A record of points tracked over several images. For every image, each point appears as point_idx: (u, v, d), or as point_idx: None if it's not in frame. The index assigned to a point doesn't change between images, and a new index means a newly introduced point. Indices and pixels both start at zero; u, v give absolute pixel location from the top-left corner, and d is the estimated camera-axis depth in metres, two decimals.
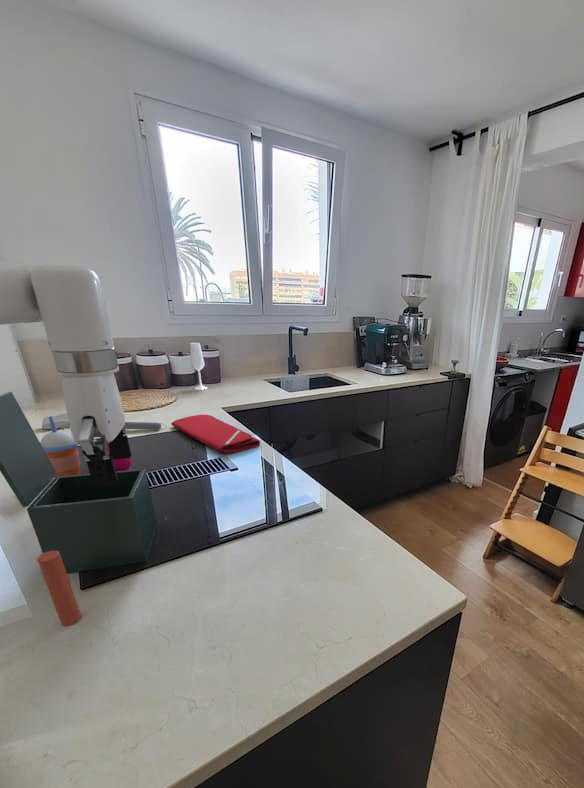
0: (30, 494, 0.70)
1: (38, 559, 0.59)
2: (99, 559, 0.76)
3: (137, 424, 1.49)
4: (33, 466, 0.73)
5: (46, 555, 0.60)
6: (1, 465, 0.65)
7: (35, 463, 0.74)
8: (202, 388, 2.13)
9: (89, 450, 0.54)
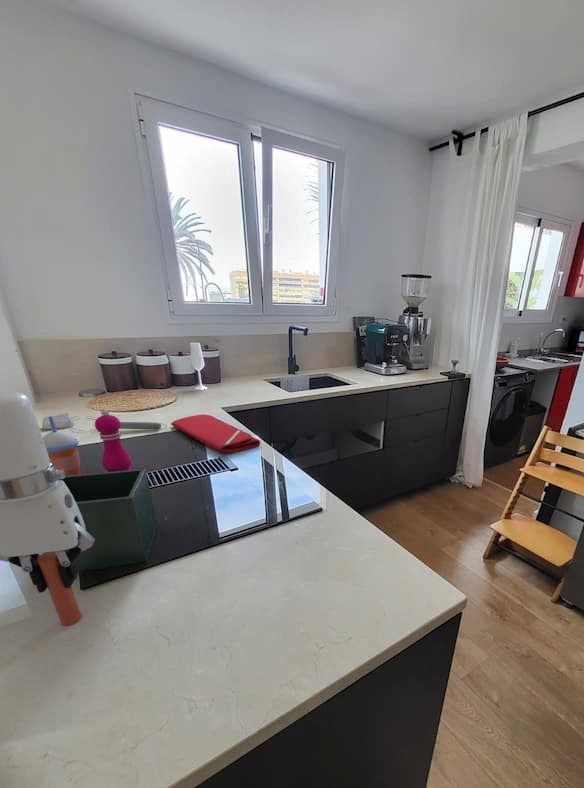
0: None
1: (38, 559, 0.59)
2: (99, 559, 0.76)
3: (137, 424, 1.49)
4: None
5: (46, 555, 0.60)
6: None
7: None
8: (202, 388, 2.13)
9: None
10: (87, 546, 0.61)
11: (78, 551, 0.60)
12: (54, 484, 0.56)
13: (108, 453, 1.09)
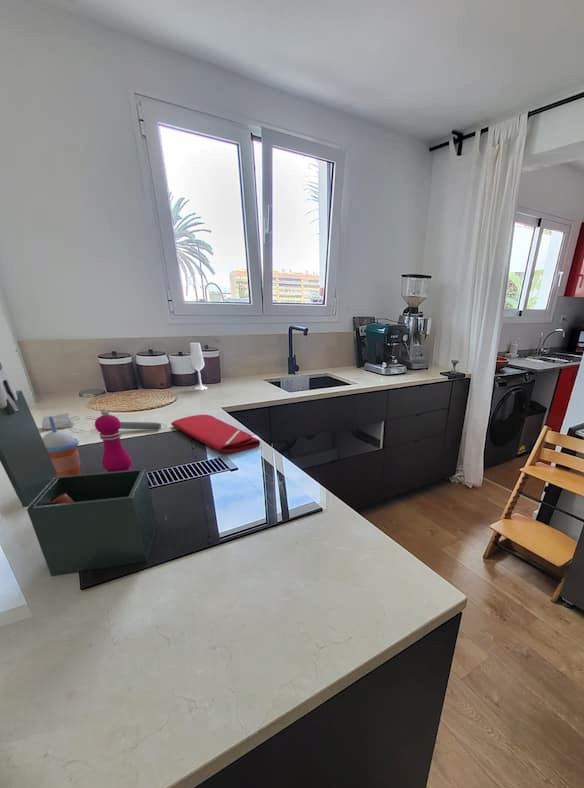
0: (31, 494, 0.70)
1: (52, 502, 0.76)
2: (99, 559, 0.76)
3: (137, 424, 1.49)
4: (35, 466, 0.73)
5: (57, 498, 0.76)
6: (6, 464, 0.65)
7: (38, 463, 0.74)
8: (202, 388, 2.13)
9: None
10: (9, 413, 0.68)
11: None
12: None
13: (108, 453, 1.09)
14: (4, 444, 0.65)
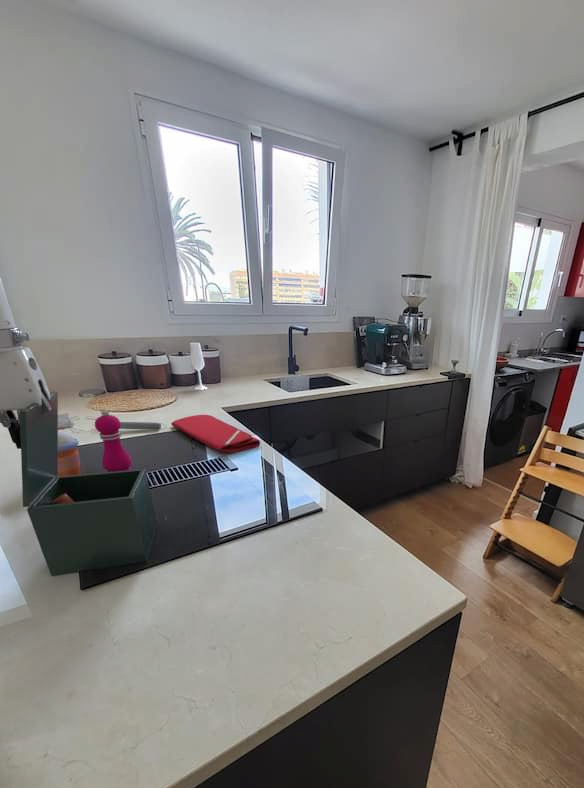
0: (34, 495, 0.70)
1: (52, 502, 0.76)
2: (99, 559, 0.76)
3: (137, 424, 1.49)
4: (45, 467, 0.74)
5: (57, 498, 0.76)
6: (26, 464, 0.66)
7: (47, 463, 0.75)
8: (202, 388, 2.13)
9: None
10: (43, 412, 0.69)
11: None
12: (19, 346, 0.65)
13: (108, 453, 1.09)
14: (30, 445, 0.66)
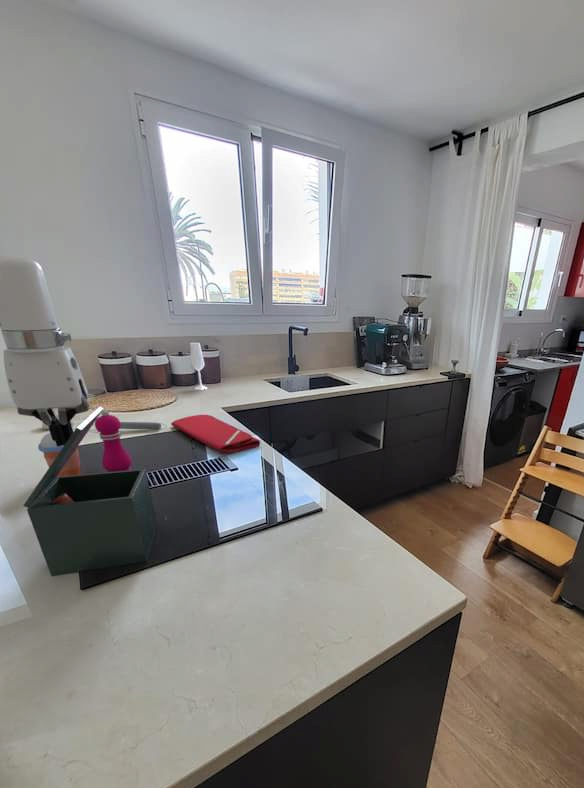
0: (37, 496, 0.71)
1: (52, 502, 0.76)
2: (99, 559, 0.76)
3: (137, 424, 1.49)
4: (57, 471, 0.74)
5: (57, 498, 0.76)
6: (51, 472, 0.68)
7: (60, 467, 0.76)
8: (202, 388, 2.13)
9: None
10: (83, 410, 0.71)
11: (74, 412, 0.70)
12: (62, 346, 0.67)
13: (108, 453, 1.09)
14: (65, 455, 0.69)
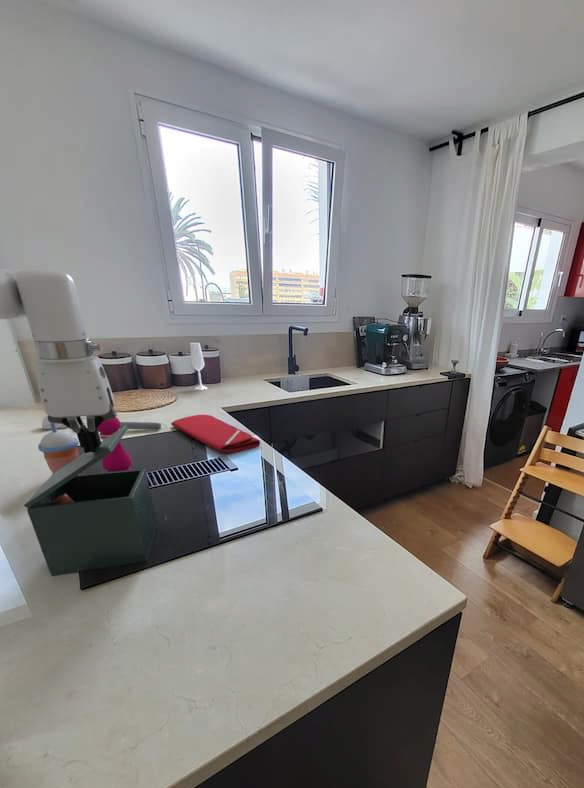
0: None
1: (52, 502, 0.76)
2: (99, 559, 0.76)
3: (137, 424, 1.49)
4: None
5: (57, 498, 0.76)
6: (66, 481, 0.69)
7: None
8: (202, 388, 2.13)
9: None
10: (110, 418, 0.73)
11: (101, 419, 0.72)
12: (91, 356, 0.68)
13: None
14: None
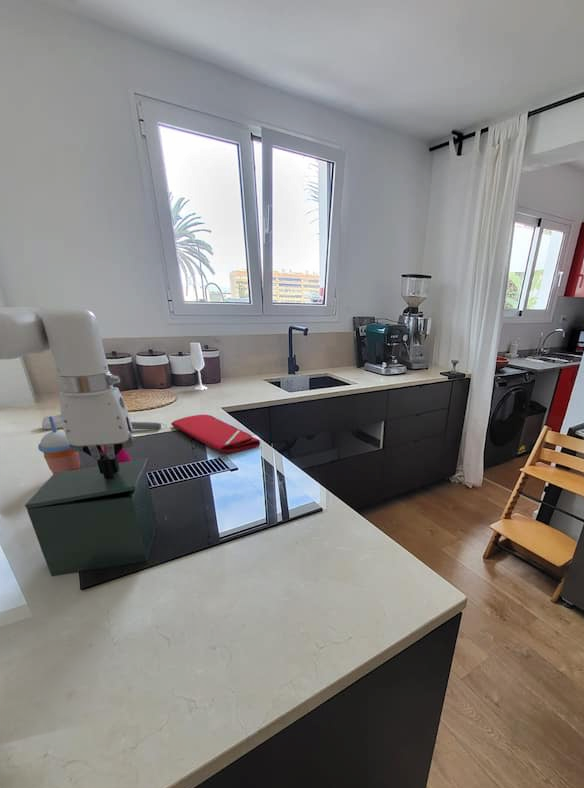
0: None
1: None
2: (99, 559, 0.76)
3: (137, 424, 1.49)
4: None
5: None
6: (78, 498, 0.71)
7: None
8: (202, 388, 2.13)
9: None
10: (129, 445, 0.75)
11: (121, 447, 0.75)
12: (111, 387, 0.71)
13: None
14: None
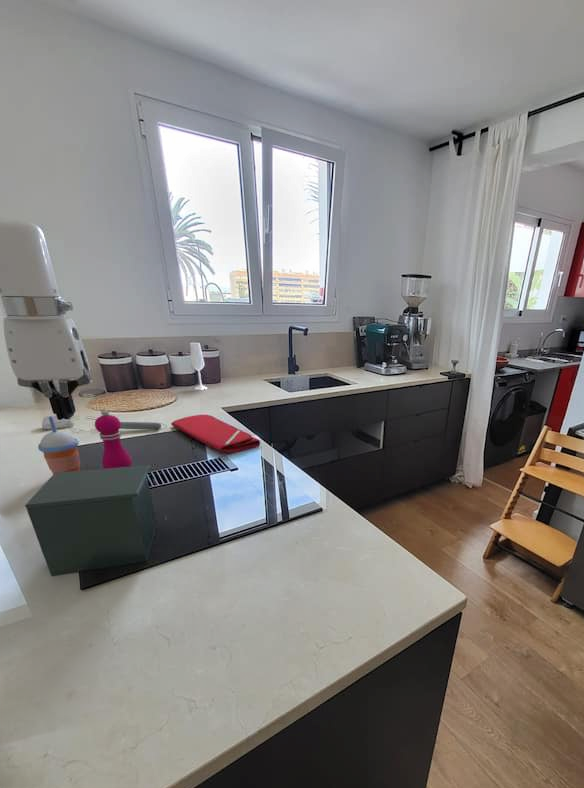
0: None
1: None
2: (99, 559, 0.76)
3: (137, 424, 1.49)
4: None
5: None
6: (79, 502, 0.71)
7: None
8: (202, 388, 2.13)
9: None
10: (84, 383, 0.69)
11: (75, 384, 0.69)
12: (63, 315, 0.65)
13: (108, 453, 1.09)
14: None
